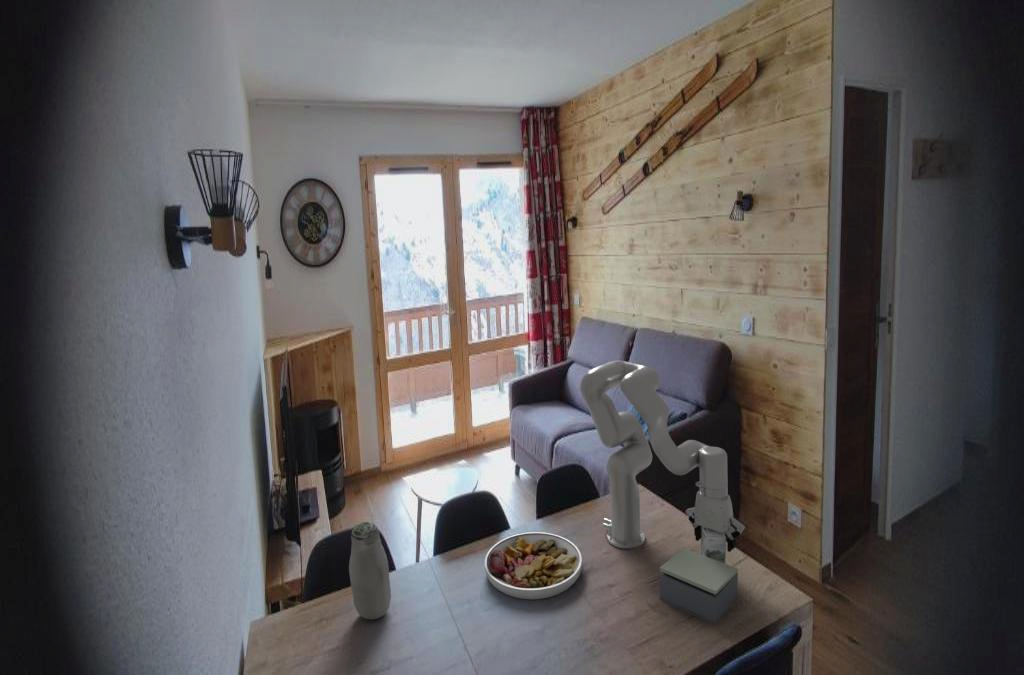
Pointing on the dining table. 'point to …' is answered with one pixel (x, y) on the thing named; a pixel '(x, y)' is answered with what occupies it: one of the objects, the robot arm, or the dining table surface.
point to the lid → (699, 570)
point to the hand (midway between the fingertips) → (714, 544)
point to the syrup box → (713, 544)
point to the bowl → (533, 565)
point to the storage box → (698, 597)
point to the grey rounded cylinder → (369, 572)
